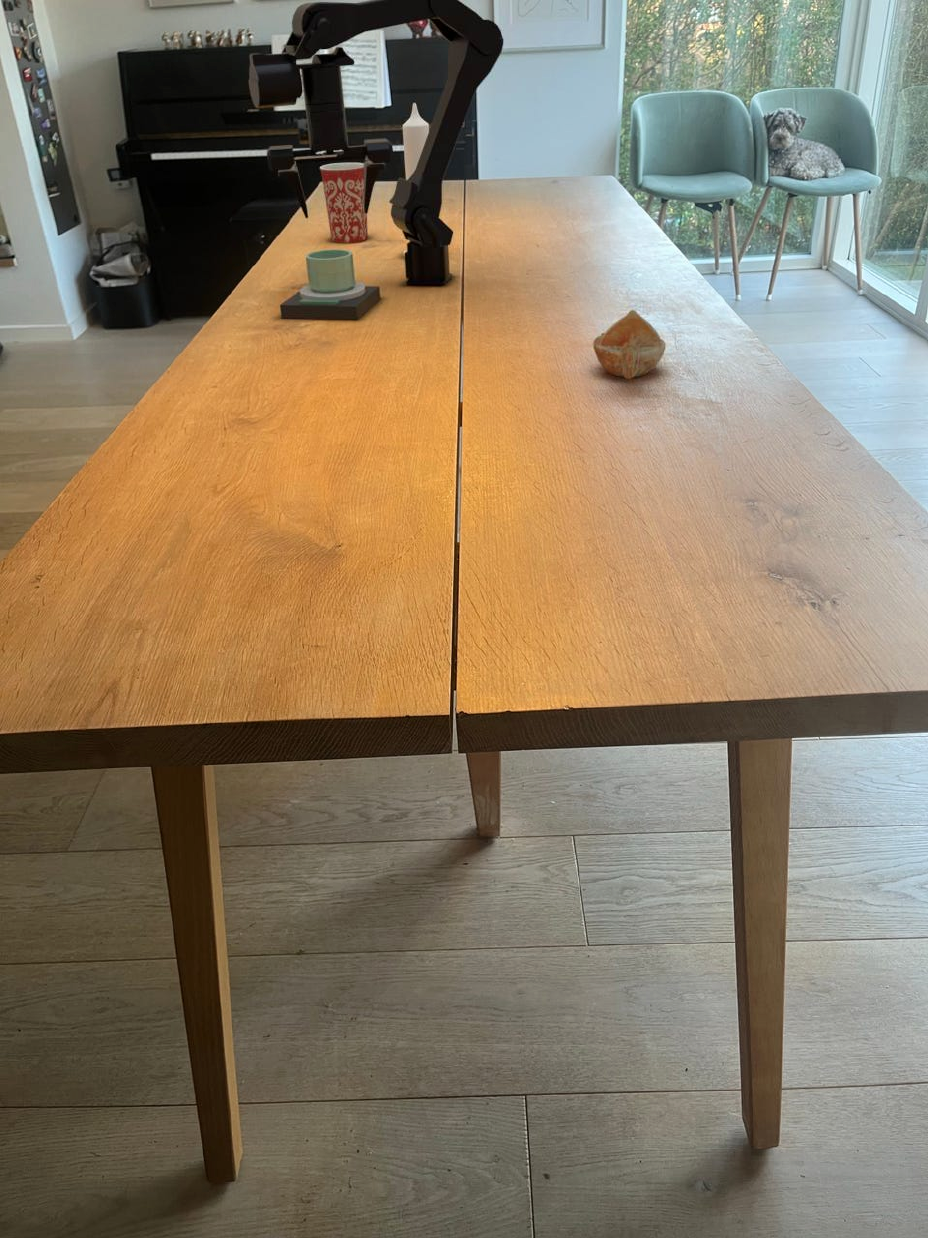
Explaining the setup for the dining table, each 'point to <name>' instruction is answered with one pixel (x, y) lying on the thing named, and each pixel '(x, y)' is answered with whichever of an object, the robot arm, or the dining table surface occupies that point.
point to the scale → (331, 303)
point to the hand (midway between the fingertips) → (336, 215)
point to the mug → (345, 201)
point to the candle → (414, 141)
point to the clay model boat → (629, 347)
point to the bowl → (330, 270)
